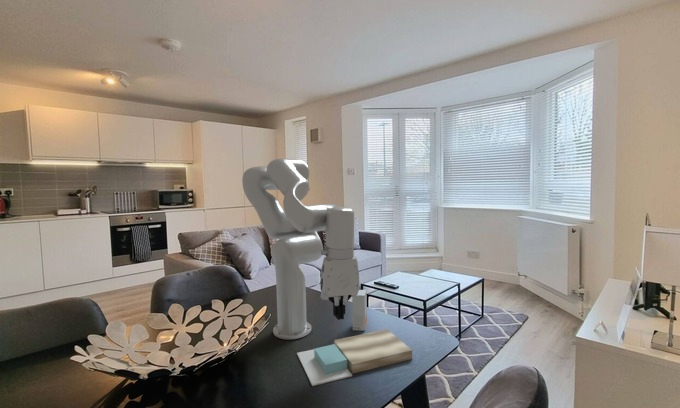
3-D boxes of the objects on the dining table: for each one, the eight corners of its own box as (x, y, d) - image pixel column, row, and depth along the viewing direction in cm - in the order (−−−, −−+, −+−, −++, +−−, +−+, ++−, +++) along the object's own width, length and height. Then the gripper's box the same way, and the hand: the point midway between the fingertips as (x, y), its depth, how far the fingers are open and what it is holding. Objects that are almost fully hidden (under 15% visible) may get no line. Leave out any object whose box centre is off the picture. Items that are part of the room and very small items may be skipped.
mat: (297, 354, 94) (296, 352, 94) (331, 346, 97) (331, 345, 97) (312, 386, 79) (312, 384, 79) (352, 376, 83) (352, 374, 83)
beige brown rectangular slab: (334, 348, 97) (333, 340, 97) (387, 336, 103) (387, 329, 103) (352, 373, 84) (352, 364, 83) (412, 358, 90) (412, 350, 90)
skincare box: (365, 331, 107) (364, 295, 106) (352, 330, 108) (351, 295, 107) (367, 323, 113) (366, 289, 112) (355, 322, 114) (354, 289, 113)
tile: (314, 357, 91) (314, 348, 91) (334, 352, 93) (334, 344, 93) (325, 374, 83) (325, 365, 83) (347, 368, 85) (346, 359, 85)
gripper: (317, 258, 82) (317, 328, 84) (370, 253, 88) (369, 319, 89) (309, 251, 89) (309, 315, 91) (359, 247, 94) (358, 308, 96)
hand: (339, 317), depth 90 cm, fingers closed
